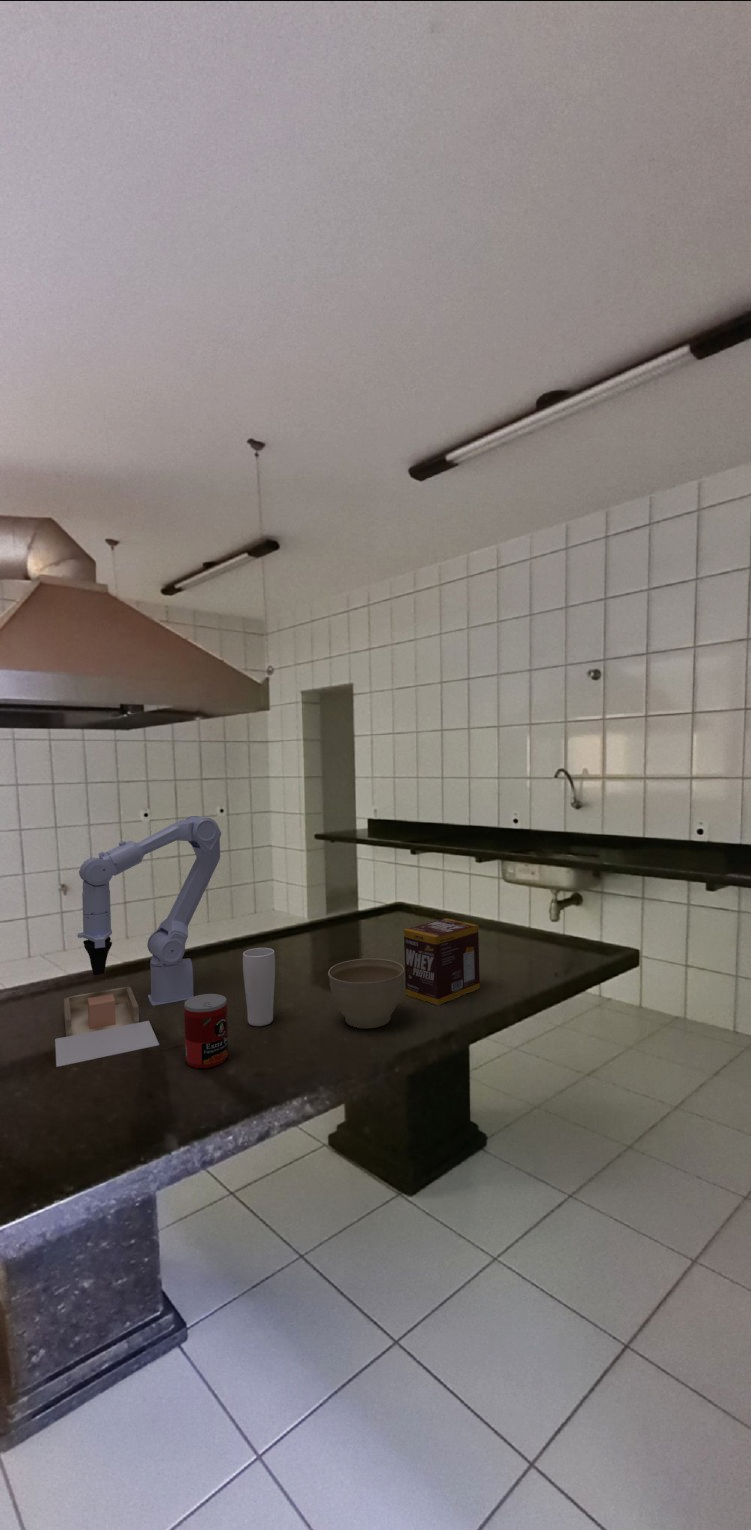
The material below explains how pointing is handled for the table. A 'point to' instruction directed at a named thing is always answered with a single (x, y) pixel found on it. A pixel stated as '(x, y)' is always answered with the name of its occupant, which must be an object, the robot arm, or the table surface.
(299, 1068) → the table surface
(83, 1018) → the open box
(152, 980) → the robot arm
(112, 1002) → the block
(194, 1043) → the canned food
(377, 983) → the planter bowl
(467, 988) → the supplement box
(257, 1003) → the drinking glass
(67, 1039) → the mat
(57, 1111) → the table surface
